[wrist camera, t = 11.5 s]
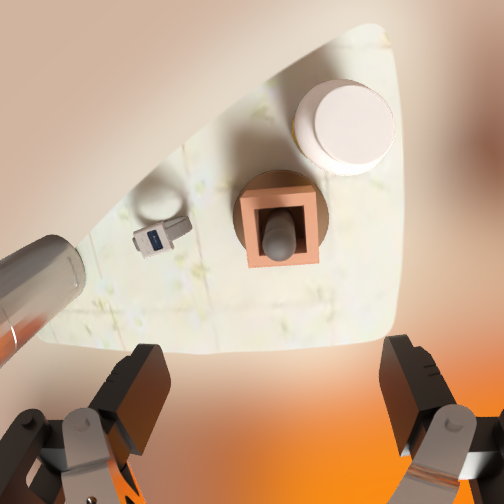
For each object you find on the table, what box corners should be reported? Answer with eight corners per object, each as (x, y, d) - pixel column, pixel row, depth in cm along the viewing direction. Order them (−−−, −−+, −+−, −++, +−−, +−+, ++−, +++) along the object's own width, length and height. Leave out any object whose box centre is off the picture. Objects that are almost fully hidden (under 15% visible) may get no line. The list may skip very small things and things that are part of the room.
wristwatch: (151, 246, 33) (131, 263, 29) (141, 223, 32) (120, 237, 28) (201, 230, 32) (187, 245, 27) (191, 204, 31) (175, 216, 26)
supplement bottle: (287, 98, 27) (289, 68, 15) (356, 95, 26) (404, 68, 14) (295, 167, 29) (302, 186, 17) (362, 163, 28) (414, 181, 16)
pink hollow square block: (253, 251, 31) (248, 267, 27) (245, 190, 29) (240, 198, 25) (315, 247, 30) (319, 263, 26) (311, 185, 28) (315, 192, 24)
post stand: (240, 261, 33) (222, 310, 23) (230, 174, 30) (204, 190, 20) (328, 256, 31) (344, 304, 22) (324, 167, 28) (342, 179, 19)
